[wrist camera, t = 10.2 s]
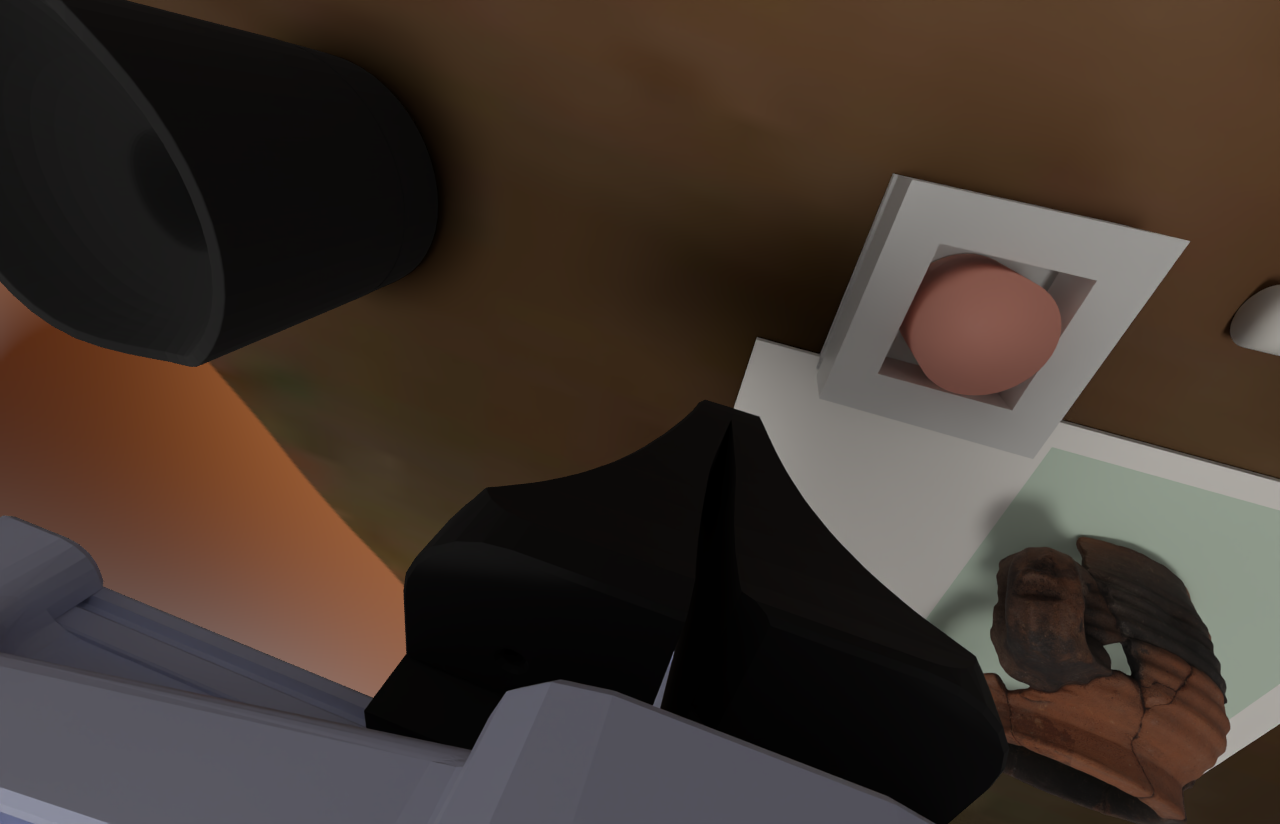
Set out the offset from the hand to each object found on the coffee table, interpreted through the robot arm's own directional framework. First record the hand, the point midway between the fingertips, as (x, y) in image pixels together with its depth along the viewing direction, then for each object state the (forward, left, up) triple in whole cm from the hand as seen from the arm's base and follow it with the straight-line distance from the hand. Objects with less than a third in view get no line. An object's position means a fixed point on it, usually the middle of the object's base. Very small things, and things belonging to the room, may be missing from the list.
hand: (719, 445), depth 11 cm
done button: (+2, -7, -9) cm, 12 cm away
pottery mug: (-9, -15, -10) cm, 20 cm away
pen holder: (+1, +17, -10) cm, 20 cm away
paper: (-9, -14, -10) cm, 19 cm away
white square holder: (+2, -6, -10) cm, 12 cm away
